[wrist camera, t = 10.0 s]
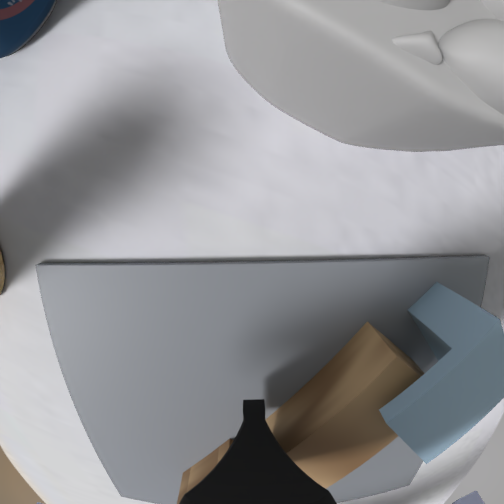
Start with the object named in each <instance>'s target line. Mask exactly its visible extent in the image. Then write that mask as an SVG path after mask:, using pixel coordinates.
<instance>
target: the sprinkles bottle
mask: <svg viewBox="0 0 504 504" xmlns="http://www.w3.org/2000/svg"><path fill="white" fill-rule="evenodd" d="M4 279H5V268H4V263H3V259H2V254H1V251H0V294H1V292H2V288H3V285H4Z"/></svg>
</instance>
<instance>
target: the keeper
mask: <svg viewBox="0 0 504 504" xmlns="http://www.w3.org/2000/svg"><path fill="white" fill-rule="evenodd" d="M408 312H409V313H410V315H411V316H412V318H413V320H414V321H415V323H416V324H417V326H418V328H419V329H420V331H421V333H422V334H423V336H424V338H425V339H426V341H427V343H428V345H429V346H430V348H431V350H432V351H433V353H434V355H435V357H436V358H437V360H438V362H437V363H436V364H435V365H434V366H433V367H432V368H431V369H429V370H428V371H427V372H426V373H425V374H424V375H422V376H421V377H420V378H419V379H418V380H417V381H415V382H414V383H413V384H412V385H410V386H409V387H408V388H407V389H406V390H404V391H403V392H402V393H400V394H399V395H398V396H397V397H395V398H394V399H393V400H391V401H390V402H389V403H387V404H386V405H385V406H383V407H382V408H381V409H379V411H380V413H381V415H382V417H383V418H384V420H385V422H386V424H387V425H388V426H389V427H390V428H391V429H392V430H393V431H394V432H395V433H396V434H397V435H398V436H399V437H400V438H401V439H402V440H403V441H404V442H405V443H406V444H407V445H408V446H409V447H410V448H411V449H412V450H413V451H414V452H415V453H416V454H417V455H418V456H419V457H420V458H421V459H422V460H423V461H424V462H425V463H426V464H427V463H428V462H430V461H431V460H433V459H434V458H435V457H437V456H438V455H439V454H441V453H442V452H443V451H445V450H446V449H447V448H449V447H450V446H451V445H452V444H454V443H455V442H456V441H457V440H458V439H460V438H461V437H462V436H463V435H464V434H466V433H467V432H468V431H469V430H470V429H471V428H472V427H474V426H475V425H476V424H477V423H478V422H479V421H480V420H481V419H482V418H483V417H484V416H486V415H487V414H488V413H489V412H490V411H491V410H492V409H493V408H494V407H495V406H496V405H497V404H498V403H499V402H500V401H501V400H502V399H503V398H504V332H503V329H502V325H501V322H500V319H498V318H497V317H495V316H494V315H492V314H490V313H489V312H487V311H486V310H484V309H482V308H481V307H479V306H477V305H476V304H474V303H472V302H471V301H469V300H467V299H466V298H464V297H462V296H461V295H459V294H457V293H455V292H454V291H452V290H450V289H448V288H447V287H445V286H443V285H442V284H440V283H438V282H436V283H435V284H434V285H433V286H432V287H431V288H430V289H429V290H428V291H427V292H426V293H425V294H424V295H423V296H422V297H421V298H420V299H419V300H418V301H417V302H416V303H415V304H414V305H412V306H411V307H410V308H409V309H408Z"/></svg>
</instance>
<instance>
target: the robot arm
mask: <svg viewBox="0 0 504 504" xmlns="http://www.w3.org/2000/svg"><path fill="white" fill-rule="evenodd" d="M37 504H42V503H39V502H38V503H37ZM179 504H336V501H335V500H334V498H333V496H332V495H331V493H330V492H329V491H328V490H327V489H325V488H324V487H322V486H321V485H320V484H318V483H317V482H315V481H314V480H313V479H312V478H310V477H309V476H308V475H307V474H306V473H305V472H304V471H302V470H301V469H300V468H299V467H298V466H297V465H296V464H295V463H294V462H293V461H292V459H291V458H290V457H289V456H288V455H287V454H286V452H285V451H284V450H283V448H282V447H281V446H280V444H279V443H278V441H277V440H276V438H275V437H274V435H273V433H272V432H271V430H270V428H269V426H268V424H267V422H266V420H265V401H264V399H255V400H243V422H242V425H241V427H240V429H239V431H238V433H237V435H236V437H235V439H234V441H233V442H232V444H231V446H230V447H229V449H228V450H227V452H226V453H225V455H224V456H223V457H222V459H221V460H220V461H219V462H218V464H217V465H216V466H215V467H214V468H213V469H212V471H211V472H210V473H209V474H208V475H207V476H206V477H205V478H203V479H202V480H201V481H200V482H199V483H198V484H197V485H196V486H194V487H193V488H192V489H191V490H189V491H188V492H187V493H185V494H184V496H183V497H182V499H181V501H180V503H179ZM452 504H485V503H484V502H483V500H482V499H481V497H480V495H479V494H478V492H477V491H474V492H472V493H470V494H468V495H466V496H464V497H462V498H460V499H458V500H456V501H455V502H454V503H452Z"/></svg>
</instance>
